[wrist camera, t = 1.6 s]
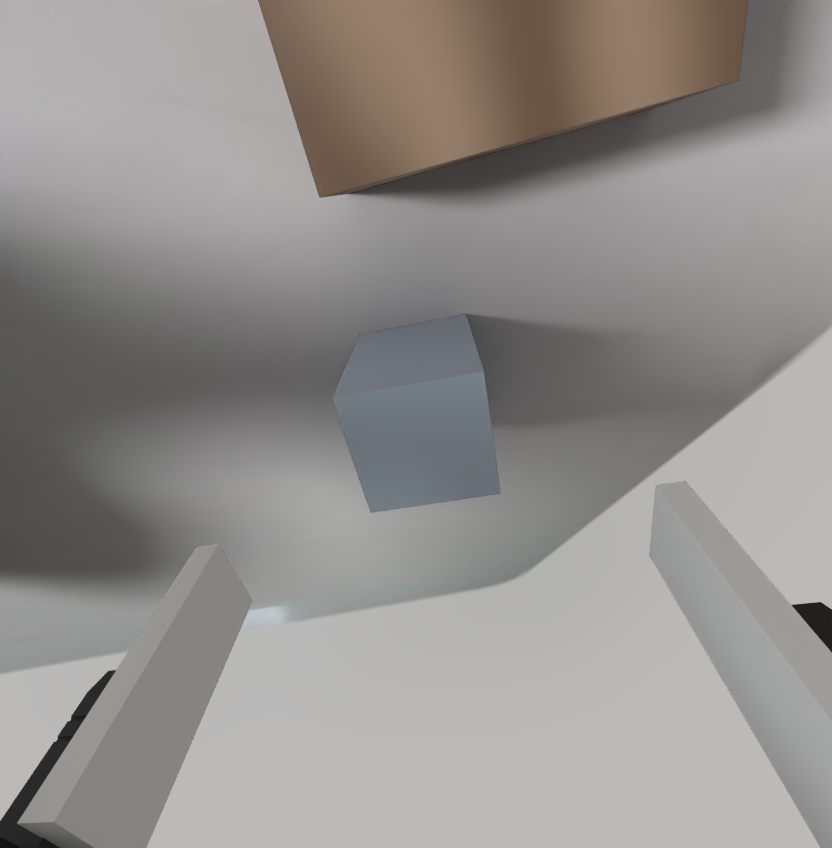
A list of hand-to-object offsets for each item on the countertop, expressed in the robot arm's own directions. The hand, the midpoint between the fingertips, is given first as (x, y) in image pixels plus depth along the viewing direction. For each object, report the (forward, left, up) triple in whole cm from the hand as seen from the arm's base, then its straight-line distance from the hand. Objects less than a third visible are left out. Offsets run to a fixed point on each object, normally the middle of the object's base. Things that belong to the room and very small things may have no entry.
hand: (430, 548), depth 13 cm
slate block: (0, 0, -14) cm, 14 cm away
